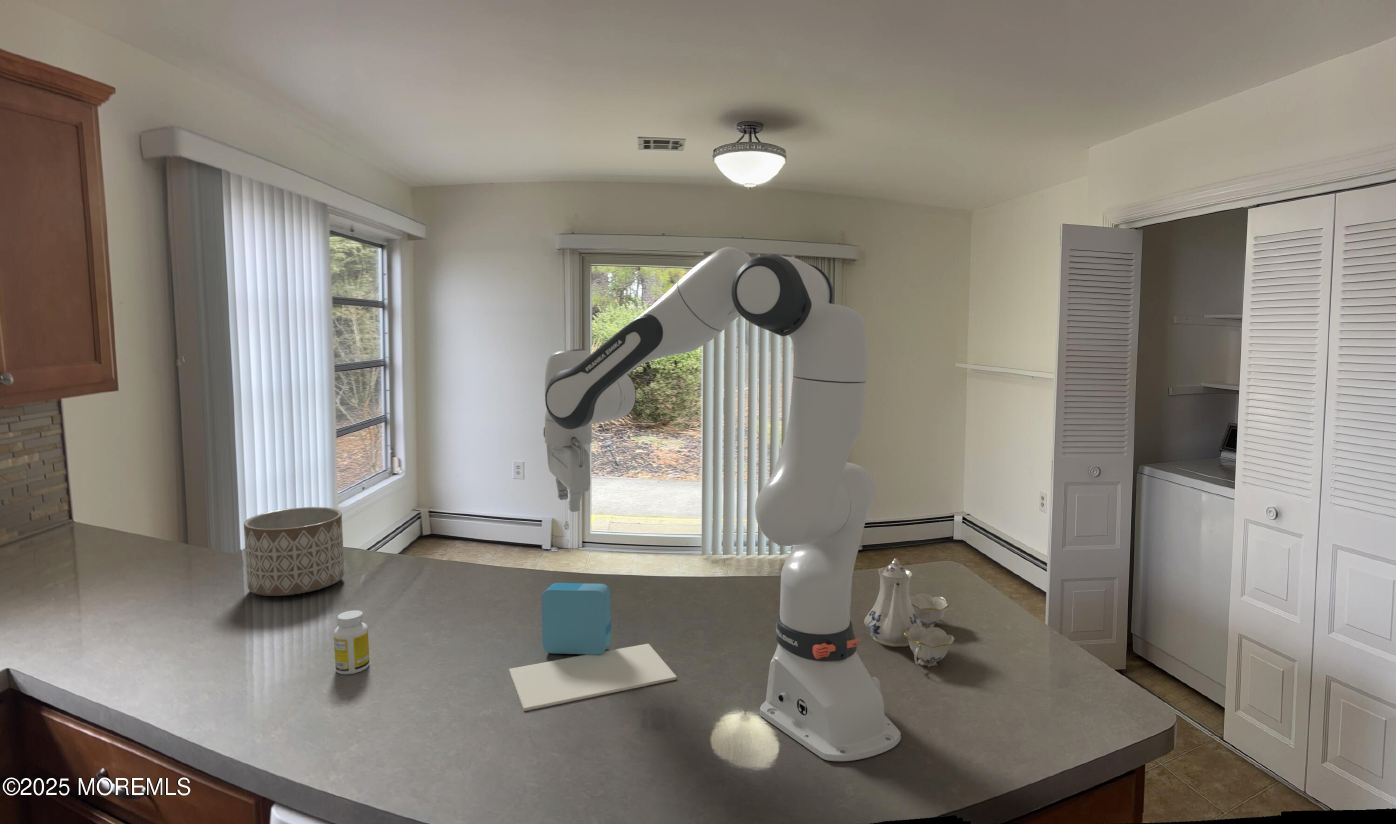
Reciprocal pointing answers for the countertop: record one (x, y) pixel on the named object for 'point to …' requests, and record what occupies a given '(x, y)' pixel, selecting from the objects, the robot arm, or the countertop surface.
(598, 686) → the mat
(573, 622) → the data package
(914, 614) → the chinaware
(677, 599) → the countertop surface
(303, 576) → the planter
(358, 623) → the supplement bottle
